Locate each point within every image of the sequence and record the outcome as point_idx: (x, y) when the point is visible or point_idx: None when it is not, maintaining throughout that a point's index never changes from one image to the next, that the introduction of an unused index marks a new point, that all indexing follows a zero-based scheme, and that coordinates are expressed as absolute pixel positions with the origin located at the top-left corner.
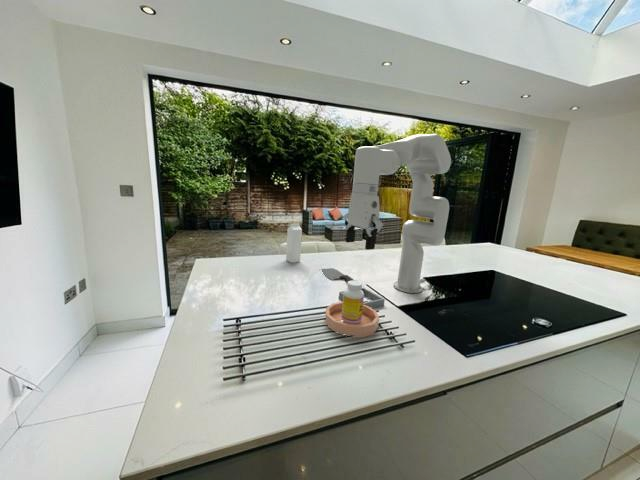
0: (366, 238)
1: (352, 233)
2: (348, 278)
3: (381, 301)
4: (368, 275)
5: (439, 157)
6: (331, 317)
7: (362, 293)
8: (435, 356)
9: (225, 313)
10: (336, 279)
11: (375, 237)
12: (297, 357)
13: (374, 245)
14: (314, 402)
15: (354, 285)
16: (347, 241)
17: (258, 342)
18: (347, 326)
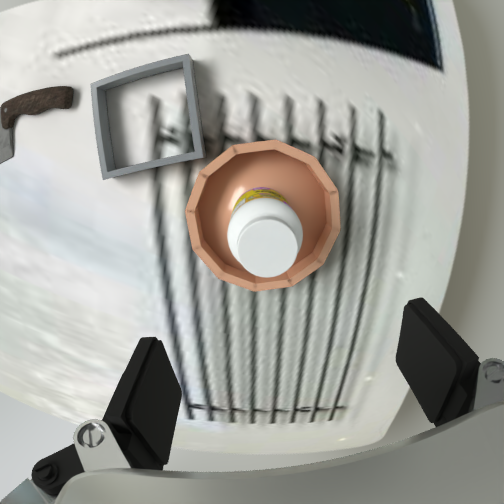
0: (431, 414)
1: (151, 417)
2: (20, 106)
3: (191, 66)
4: (15, 36)
5: None
6: (271, 285)
7: (294, 218)
8: (429, 120)
9: None
10: (11, 140)
11: (470, 350)
12: (335, 355)
13: (432, 310)
14: None
15: (291, 264)
16: (181, 396)
17: (273, 393)
18: (321, 264)
